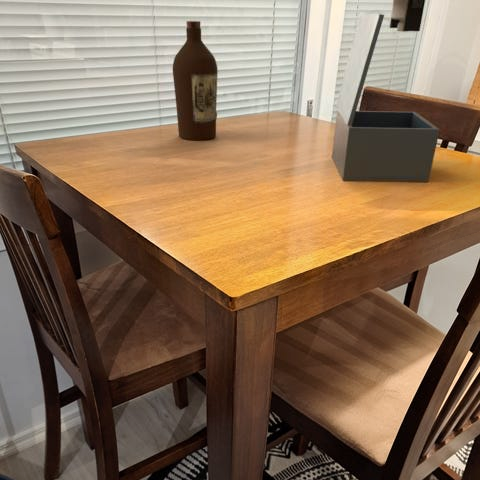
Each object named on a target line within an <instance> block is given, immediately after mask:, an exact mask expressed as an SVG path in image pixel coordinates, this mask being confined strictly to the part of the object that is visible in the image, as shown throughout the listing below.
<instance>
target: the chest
mask: <svg viewBox="0 0 480 480" xmlns="http://www.w3.org/2000/svg"><path fill="white" fill-rule="evenodd" d="M335 115H336V116H335V124H334V132H333V142H332V151H331V152H332V153H331V159H332V161H333V163H334V166H335V168H336V170H337V172H338V174H339V176H340V178H341V180H342V181H344V182H388V183H389V182H392V183H393V182H395V183H396V182H397V183H399V182H400V183H429V181H430V176H431V173H432V172H431V171H432V167H433V162H434V158H435V153H436V149H437V145H438V140H439V134H440V130H441V129H440V128H438V127H437V126H436V125H434V124H433V123H432V122H430V121H429V120H427V119H426V118H424V117H423V115H421V114H419V113H418V112H416V111H394V110H393V111H390V110H388V111H386V110H385V111H384V110H356V112H355V116H354V119H353V123H352V126H350V125H347V123H346V122H345V121H344V119H343V118H342V116H341V115H340V114H339V112H338V111H337V110H336V114H335Z"/></svg>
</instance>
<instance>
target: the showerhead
mask: <svg viewBox="0 0 480 480" xmlns="http://www.w3.org/2000/svg"><path fill="white" fill-rule="evenodd" d="M407 1H408V0H392V9H391V15H392V16H391V15H390V19H391V18H392V19H395V20H400V22H399V23H398V27H397V28H396V32H401V33H402V32H405V33H406V32H409V31H403V26H404V20H405V14H406V7H407Z"/></svg>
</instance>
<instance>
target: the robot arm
mask: <svg viewBox="0 0 480 480" xmlns="http://www.w3.org/2000/svg"><path fill="white" fill-rule="evenodd" d="M425 3H426V0H408V1H407V7H406V14H405V20H404V26H403V31H408V32H420V31H421V27H422V26H421V25H422V20H423V14H424V8H425V5H426V4H425ZM391 16H392V14H391V15H390V21H389V22H390V23H389V29H397V27H398V23H399V22H400V20H395V19H392V18H391Z"/></svg>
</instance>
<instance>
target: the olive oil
mask: <svg viewBox="0 0 480 480" xmlns="http://www.w3.org/2000/svg"><path fill="white" fill-rule="evenodd" d="M185 23H186V31H185V32H186V41H185V42H184V44H183V45H182V47H180V49H179V50H178V52H177V53H176V55H174V58H173V63H172V79H173V88H174V97H175V107H176V116H177V117H176V118H177V131H178V137H179V138H181V139H182V140H188V141H206V140H211V139H215V138H216V136H217V118H218V112H217V103H218V102H217V97H218V64H217V60H216V58H215V56H214V55H213V53H212V52H211V50H210V49H209V48H208V47H207V46H206V44H205V43H204V42H203V40H202V28H201V20H187V21H186V22H185Z"/></svg>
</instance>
